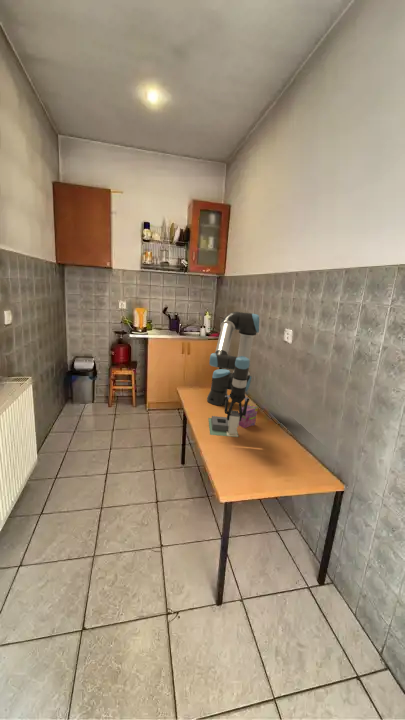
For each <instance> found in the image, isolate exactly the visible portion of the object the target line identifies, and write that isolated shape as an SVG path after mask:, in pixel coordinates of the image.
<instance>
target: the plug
mask: <svg viewBox="0 0 405 720" xmlns="http://www.w3.org/2000/svg"><path fill="white" fill-rule="evenodd" d="M230 414H231V421H230V426H229V427H228V432H229V433H231V434H236V431H237V432H238V427H237V425H238V418H239V410H233V409H232V411H231V413H230Z"/></svg>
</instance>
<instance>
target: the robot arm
mask: <svg viewBox="0 0 405 720" xmlns="http://www.w3.org/2000/svg"><path fill="white" fill-rule="evenodd" d="M219 327H220V333H219V336H218V340H217V344H216V347H215V352H213V353H210V355H209V360H208V361H209V366H211V367H214V368H219V369H215V370H214V371H213V373H212V378H211V385H210V386H211V387H210V391H209V393H208V395H207V397H206V401H207V402H208V403H209V404H211V405H214V406H224V414H226V417H227V420H228V426H230V421H231V411H232V410H233V407H234V405H236V403H237V404H238V412H239V418H238V425H237V428H239V421H241V418H242V416H243V415H246V410H247V405H249V404H248V403H249V402H250V398H249V397H248V396H246V392H248V391H249V388H250V385H251V382H252V379H253V378H252V376H251V373H250V372H249V369H250V366H251V364H250V362H251V356H252V350H253V343H254V337H256V336H257V334H258V333H260V315H259V314H256V313H251V312H241V311H232V312H230V313H227V314H226V315H225V316H224V317H223V319H222V320H221V321H220V325H219ZM234 331H238V334H239V335H240V337H239V343H238V344H239V345H238V351H237V352H238V353H237V356H236V355H235V356H234V355H229V351H230V347H231V341H232V337H233V332H234ZM230 370H233V371H232V372H231V371H230ZM228 390H230V394H229V395H228ZM230 399H231V402H230V405H229V400H230ZM242 401H244V403H242ZM242 404H243V406H242ZM228 405H229V406H228ZM242 407H244V408H243V412H242Z"/></svg>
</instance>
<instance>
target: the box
mask: <svg viewBox="0 0 405 720" xmlns="http://www.w3.org/2000/svg"><path fill="white" fill-rule="evenodd" d="M243 408H244V406H242V412H243ZM258 409H259V408H258V407H257V406H255V405H253V404H248V405H247V410H246V415H243V416H242V418H241V421H239V426H240V427H241V428H243V429H246V428H248V427H249V428H250V427H252V426H253V427H254V426H256V419H257V416H258V415H257V414H258ZM239 426H238V427H239Z"/></svg>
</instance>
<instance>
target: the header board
mask: <svg viewBox="0 0 405 720" xmlns="http://www.w3.org/2000/svg"><path fill="white" fill-rule="evenodd" d="M208 426H209V427H208V428H209V429H208V430H209V435H211V436H222V437H232V438H239V437H240V436H239V433H238V430H237V431H236V434H231V433H229V432H228V427H229V426H228V420H227V416H226V417H225V416H218V415H217V416H216V415H211V417H208Z"/></svg>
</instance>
